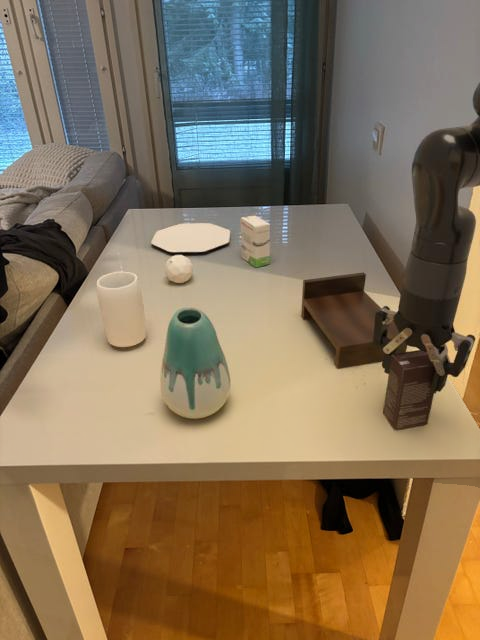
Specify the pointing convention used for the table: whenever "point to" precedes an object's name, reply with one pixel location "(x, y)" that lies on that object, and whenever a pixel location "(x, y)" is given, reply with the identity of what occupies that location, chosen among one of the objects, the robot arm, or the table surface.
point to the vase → (193, 366)
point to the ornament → (178, 268)
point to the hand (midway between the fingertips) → (411, 380)
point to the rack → (346, 317)
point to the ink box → (255, 241)
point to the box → (409, 389)
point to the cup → (121, 308)
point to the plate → (191, 238)
